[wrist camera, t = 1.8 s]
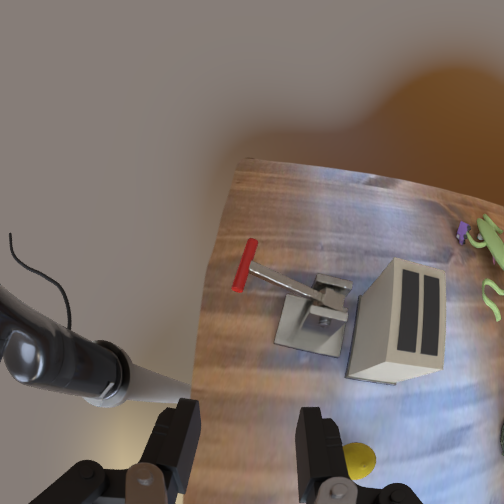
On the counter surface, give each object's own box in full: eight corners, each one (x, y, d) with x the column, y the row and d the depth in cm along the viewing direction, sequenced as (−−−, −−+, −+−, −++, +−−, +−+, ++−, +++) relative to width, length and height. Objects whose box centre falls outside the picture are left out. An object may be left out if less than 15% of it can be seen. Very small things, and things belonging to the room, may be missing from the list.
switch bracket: (273, 343, 41) (281, 319, 30) (286, 295, 45) (296, 256, 34) (337, 358, 40) (368, 338, 29) (346, 310, 44) (375, 275, 33)
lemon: (328, 441, 33) (345, 448, 27) (364, 438, 33) (386, 443, 26) (325, 474, 31) (341, 487, 24) (361, 471, 30) (382, 481, 24)
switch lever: (227, 290, 30) (235, 284, 28) (244, 243, 33) (252, 234, 31) (327, 331, 33) (339, 327, 31) (335, 286, 36) (347, 281, 34)
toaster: (344, 377, 38) (383, 363, 26) (358, 296, 45) (392, 253, 32) (393, 385, 37) (445, 372, 25) (403, 306, 44) (447, 268, 31)
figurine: (474, 329, 40) (492, 319, 36) (443, 213, 54) (455, 198, 49) (522, 319, 40) (538, 310, 35) (493, 220, 53) (504, 207, 48)
